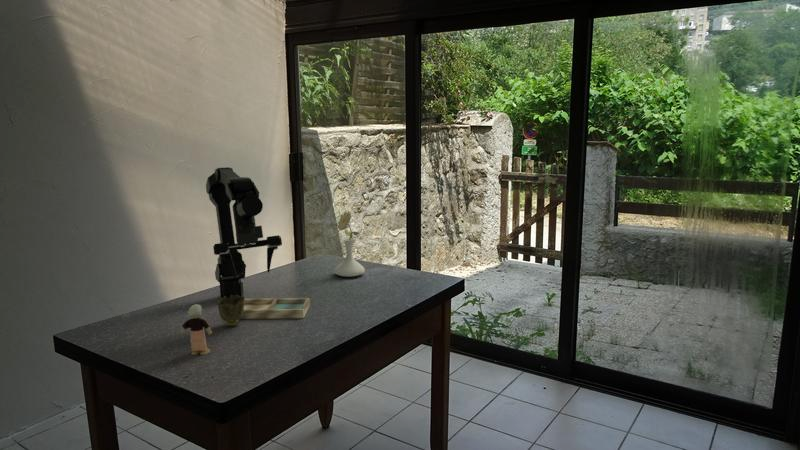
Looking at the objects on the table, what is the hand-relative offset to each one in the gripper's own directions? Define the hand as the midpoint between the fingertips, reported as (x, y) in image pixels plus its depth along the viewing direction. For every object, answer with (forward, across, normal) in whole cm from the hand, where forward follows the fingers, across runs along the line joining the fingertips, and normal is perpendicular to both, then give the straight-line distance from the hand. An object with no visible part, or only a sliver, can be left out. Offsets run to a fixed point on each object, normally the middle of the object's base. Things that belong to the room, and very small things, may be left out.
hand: (252, 275), depth 161 cm
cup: (+14, -7, +3) cm, 16 cm away
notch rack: (+12, +4, +11) cm, 17 cm away
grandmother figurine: (+18, -16, -14) cm, 27 cm away
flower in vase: (+5, +35, +43) cm, 55 cm away
